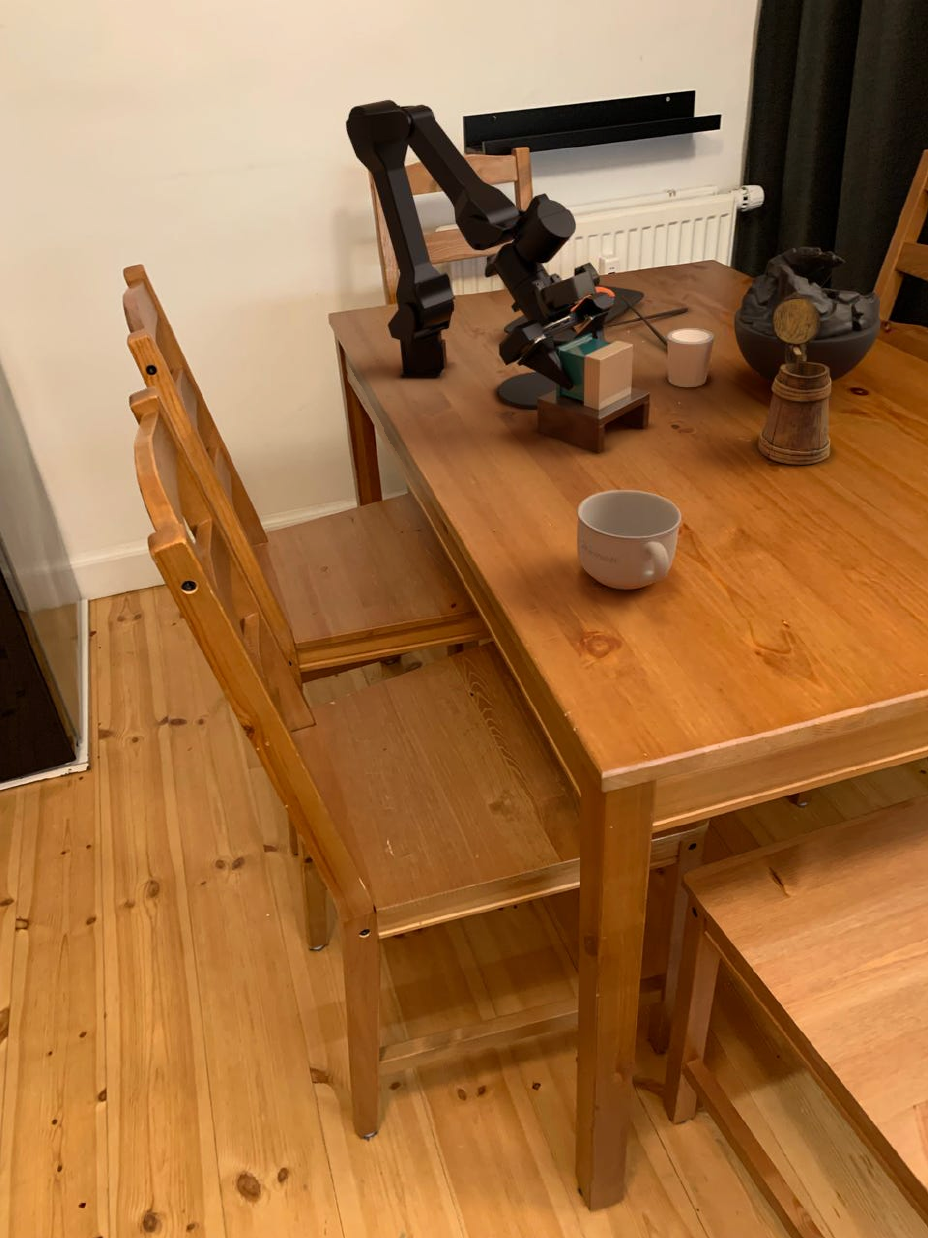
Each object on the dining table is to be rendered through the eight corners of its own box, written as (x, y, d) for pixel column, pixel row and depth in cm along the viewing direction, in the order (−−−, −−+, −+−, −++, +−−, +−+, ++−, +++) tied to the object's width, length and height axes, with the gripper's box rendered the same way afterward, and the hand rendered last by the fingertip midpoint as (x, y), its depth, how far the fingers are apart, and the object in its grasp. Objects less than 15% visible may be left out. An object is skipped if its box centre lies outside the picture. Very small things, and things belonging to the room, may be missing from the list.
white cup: (710, 389, 143) (714, 343, 139) (663, 388, 145) (666, 343, 141) (709, 371, 149) (714, 327, 145) (665, 370, 150) (667, 326, 146)
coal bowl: (827, 352, 152) (848, 228, 141) (894, 400, 136) (923, 265, 125) (707, 367, 150) (718, 243, 139) (761, 418, 134) (779, 283, 123)
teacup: (568, 552, 109) (569, 490, 104) (662, 543, 110) (666, 481, 105) (592, 624, 98) (594, 558, 93) (696, 613, 98) (703, 547, 94)
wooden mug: (809, 419, 133) (830, 288, 123) (837, 463, 122) (863, 324, 112) (744, 422, 134) (760, 292, 123) (767, 467, 123) (786, 328, 112)
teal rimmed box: (555, 396, 132) (555, 347, 128) (588, 380, 136) (589, 332, 132) (598, 410, 128) (600, 360, 124) (631, 393, 132) (633, 344, 128)
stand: (537, 431, 135) (537, 398, 132) (587, 406, 141) (588, 373, 138) (598, 453, 129) (599, 419, 126) (648, 425, 135) (650, 392, 132)
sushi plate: (581, 291, 184) (581, 271, 182) (729, 314, 169) (732, 292, 167) (496, 340, 165) (495, 318, 163) (655, 370, 150) (656, 347, 148)
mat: (492, 408, 143) (492, 404, 142) (504, 374, 153) (504, 371, 153) (580, 409, 140) (580, 405, 140) (586, 375, 151) (586, 371, 150)
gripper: (511, 264, 120) (578, 369, 119) (606, 230, 130) (668, 327, 129) (470, 314, 129) (532, 412, 129) (561, 279, 139) (619, 370, 139)
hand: (590, 379), depth 131 cm, fingers open, 8 cm apart
